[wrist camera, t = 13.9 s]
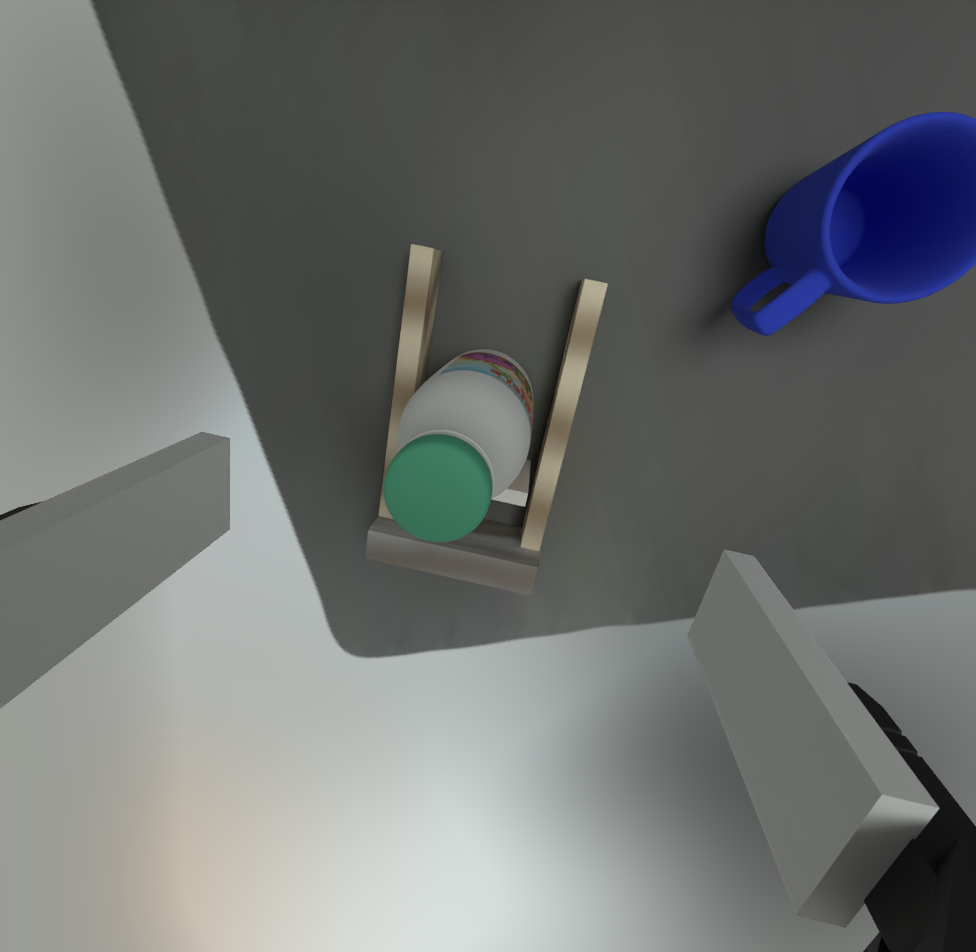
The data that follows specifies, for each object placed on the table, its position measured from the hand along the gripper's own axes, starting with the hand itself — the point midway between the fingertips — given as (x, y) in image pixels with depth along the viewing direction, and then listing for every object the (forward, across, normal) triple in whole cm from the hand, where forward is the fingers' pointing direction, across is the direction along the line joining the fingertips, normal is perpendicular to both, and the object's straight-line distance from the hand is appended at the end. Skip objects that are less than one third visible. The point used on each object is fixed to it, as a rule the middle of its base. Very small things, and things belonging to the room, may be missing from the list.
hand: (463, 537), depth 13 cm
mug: (+28, +16, +11) cm, 34 cm away
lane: (+27, -2, -4) cm, 28 cm away
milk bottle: (+27, -2, -3) cm, 28 cm away
